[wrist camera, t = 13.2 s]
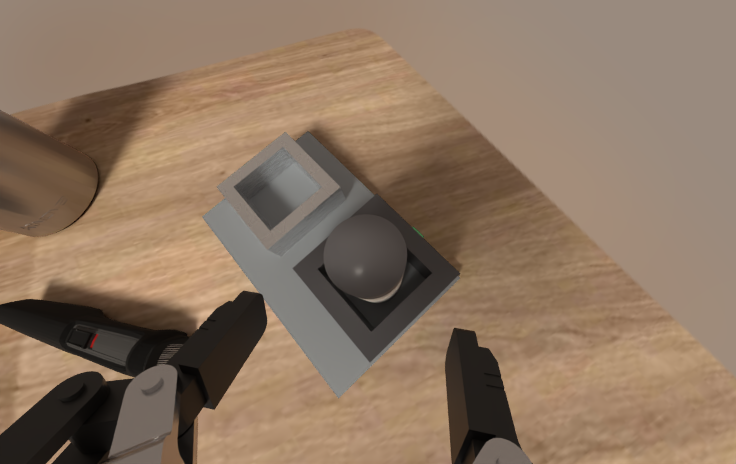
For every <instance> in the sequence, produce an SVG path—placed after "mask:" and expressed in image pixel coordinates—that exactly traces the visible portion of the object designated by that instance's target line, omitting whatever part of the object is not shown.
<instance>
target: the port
mask: <svg viewBox="0 0 736 464" xmlns="http://www.w3.org/2000/svg"><path fill="white" fill-rule="evenodd" d="M363 214H370V215H376V216H379V217H382V218H384V219H386V220H388V221H390V222H391V223H392V224H393V225H395V226H396V228H397V229H398V230H399V231H400V233H401V234H402V236H403V238H404V240H405V243H406V248H407V261H408V262H409V263H410V264H411V265H412V266H413V267H414V268H415V269H416V270H417V271H418V272H419V273H420V274H421V275H422V276H423V277H424V278H425V280H424V281H423V282H422V283H421V284H420V285H419V286H418V287H417V288H416V289H415V290H414V291H413V292H412V293H411V294H410V295H409V296H408V297H407V298H406V299H405V300H404V301H403V302H402V303H401V304H400V305H399V306H398V307H396V308H395V309H394V310H393V311H392V312H391V313H390V314H389V315H388V316H387V317H386V318H385V319H384V320H383V321H382V322H381V323H380V324H379V325H378V326H377V327H376V328H374V327H373V326H372V325H371V324H370V322H369V321H368V320H367V319H366V318H365V317H364V316H363V314H362V313H361V312H360V311H359V310H358V309H357V307H356V306H355V305H354V304H353V303H352V302H351V300H350V299H349V298H348V297H347V296H346V295H345V294H344V292H343V291H342V290H341V289H339V288H338V287H337V286H336V285H335V284H334V283H333V282H332V281H331V279H330V278H329V276H328V274H327V272H326V269H325V265H324V248H325V244H326V241H327V239H328V237H329V236H328V237H327V238H326V239H325V240H324V241H323V242H321V243H320V244H319V245H318V246H317V247H316V248H315V249H314V250H312V251H311V252H310V253H309V254H308V255H307V256H306V257H305V258H303V259H302V260H301V261H300V262H299V263H298V264H297V265H296V266H294V267H293V268H292V269H293V270H294V271H295V272H296V273H297V275H298V276H299V277H300V278H301V279H302V281H303V282H304V283H305V284H306V286H307V287H308V288H309V289H310V290H311V292H312V293H313V294H314V295H315V297H316V298H317V299H318V300H319V301H320V303H321V304H322V305H323V306H324V307H325V309H326V310H327V311H328V312H329V314H330V315H331V316H332V317H333V318H334V320H335V321H336V322H337V323H338V324H339V326H340V327H341V328H342V329H343V331H344V332H345V333H346V334H347V335H348V337H349V338H350V339H351V340H352V342H353V343H354V344H355V345H356V346H357V348H358V349H359V350H360V351H361V352H362V354H363V355H364V356H365V357H366V359H367V360H368V361H369V362H371V361H372V360H373V359H374V358H375V357H376V356H377V355H378V354H379V353H380V352H381V351H382V350H383V349H384V348H386V347H387V346H388V345H389V344H390V343H391V342H392V341H393V340H394V339H395V338H396V337H397V336H398V335H399V334H400V333H401V332H402V331H403V330H404V329H405V328H406V327H407V326H408V325H409V324H410V323H411V322H412V321H413V320H414V319H415V318H416V317H417V316H418V315H419V314H420V313H421V312H422V311H423V310H424V309H425V308H426V307H427V306H428V305H429V304H430V303H431V302H432V301H433V300H434V299H435V298H436V297H437V296H438V295H439V294H440V293H441V292H442V291H443V290H444V289H445V288H446V287H447V286H448V285H449V284H450V283H451V282H452V281H453V280H454V279H455V278H456V277H457V276H458V275H459V274H460V273H459V272H458V271H457V270H456V269H455V268H454V267H453V266H452V265H451V264H450V263H449V262H448V261H447V260H445V259H444V258H443V257H442V256H441V255H440V254H439V253H438V252H437V251H436V250H435V249H434V248H433V247H432V246H431V245H430V244H429V243H428V242H427V241H426V240H425V239H424V238H423V237H424V236H423V235H422V234H421V233H420V232H419V231H418V230H417V229H415V228H414V227H411V226H410V225H409V224H408V223H407V222H406V221H405V220H404V219H403V218H402V217H401V216H400V215H399V214H398V213H396V212H395V211H394V210H393V209H392V208H391V207H390V206H389V205H388V204H387V203H386V202H385V201H384V200H383V199H382V198H381V197H380V196H379V195H378V194H376V195H375V196H373V197H372V198H371V199H370V200H369V201H368V202H367V203H366V204H364V205H363V206H362V207H361V208H360V209H359V210H358V211H357V212H355V213H354V214H353V215H352V216H351V217H353V216H356V215H363Z"/></svg>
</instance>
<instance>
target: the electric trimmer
mask: <svg viewBox="0 0 736 464" xmlns="http://www.w3.org/2000/svg"><path fill="white" fill-rule="evenodd" d="M0 324H2V325H5V326H7V327H9V328H11V329H14V330H16V331H18V332H20V333H22V334H25V335H27V336H30V337H32V338H34V339H37V340H39V341H42V342H44V343H46V344H49V345H51V346H53V347H56V348H58V349H61V350H63V351H65V352H68V353H71V354H74V355H77V356H80V357H82V358H85V359H87V360H90V361H92V362H95V363H97V364H99V365H102V366H104V367H107V368H109V369H112V370H114V371H117V372H120V373H122V374H125V375H129V376H132V377H135V378H136V377H137V376H138V375H139V374H141V373H142V372H144V371H145V370H147V369H149V368H152V367H154V366H158V365H164V364H165V363H167V362H168V361H169V360H170V358H171V357H172V356H173V355H174V354H175V353H176V352H177V351H178V350H179V349H180V348H181V347H182V345H183V344H184V343H185V342H186V341H187V340H188V339H189V337H187V334H186V333H185V332H181V331H177V330H151V329H146V328H142V327H137V326H133V325H129V324H125V323H121V322H118V321H115V320H112V319H110V318H107V317H105V316H104V314H103V312H102V310H100V309H97V308H92V307H86V306H79V305H73V304H66V303H59V302H52V301H45V300H35V299H26V300H20V301H14V302H9V303H5V304H1V305H0ZM88 328H89V329H88Z"/></svg>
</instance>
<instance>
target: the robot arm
mask: <svg viewBox="0 0 736 464" xmlns="http://www.w3.org/2000/svg"><path fill="white" fill-rule="evenodd" d="M97 183H98V171H97V168H96V165H95V163H94V162H93V160H92V159H91V158H90V157H88V156H87V155H86V154H84V153H82V152H80V151H78V150H76V149H74V148H72V147H70V146H68V145H67V144H65V143H63V142H61V141H59V140H57V139H55V138H53V137H51V136H49V135H47V134H45V133H43V132H41V131H40V130H38V129H36V128H34V127H32V126H30V125H28V124H26V123H24V122H22V121H21V120H19V119H17V118H15V117H13V116H11V115H9V114H7V113H5V112H3V111H1V110H0V230H4V231H9V232H13V233H18V234H23V235H27V236H32V237H40V236H46V235H50V234H53V233H56V232H58V231H60V230H62V229H64V228H65V227H67V226H69V225H70V224H72V223H73V222H74V221H75V220H76V219H77V218H78V217H79V216H80V215H81V214H82V213H83V212H84V211H85V210H86V208H87V207H88V205H89V204H90V202H91V200H92V199H93V196H94V194H95V191H96V188H97ZM266 326H267V315H266V310H265V304H264V298H263V295H262V294H260V293H254V292H248V291H243V292H241V293H240V294H239V295H238V296H237V298H236V299H235V300H234V301H233V302H232V301H228V302H226V303H225V304H223V305H222V306H220V307H218V308H217V309H216V310H215V311H214V312H213V313H212V314H211V315H210V316H209V317H208V318H207V321H205V322H204V323H203V324H202V325H201V326H200V327H199V329H197V330H196V331H195V332H194V334H193V335H192V336H191V337H190V338H189V339H188V340H187V341H186V342H185V343H184V344H183V345H182V347H181V348H180V349H179V350H178V351H177V352H176V353H175V354H174V355H173V356H172V357H171V358H170V360H169V361H168V362H167V363H165V364H164V365H158V366H154V367H152V368H149V369H147V370H145V371H144V372H142V373H141V374H139V375H138V376H137V377H136V378H133V379H124V380H116V381H107V382H106V381H105V379H104V378H103V376H102V375H101V374H100V373H98V372H93V371H91V372H84V373H80V374H77V375H75V376H73V377H70V378H68V379H67V380H65V381H63V382H62V383H60V384H59V385H57V386H56V387H55V388H54V389H52V390H51V391H50V392H49V393H48V394H47V395H46V396H44V397H43V398H42V399H41V400H40V401H39V402H38V403H36V404H35V405H34V406H33V407H32V408H31V409H29V410H28V411H27V412H26V413H25V414H24V415H23V416H21V417H20V418H19V419H18V420H17V421H16V422H15V423H13V424H12V425H11V426H10V427H9V428H8V429H7V430H5V431H4V432H3V433H2V434H1V435H0V464H46V463H47V462H48V461H49V460H50V459H51V458H52V456H53V455H54V454H55V453H56V452H57V451H58V450H59V449H60V448H61V447H62V446H63V445H64V444H65V443H66V442H67V441H68V440H69V441H70V442H71V443H70V444H69V445H68V447H67V448H66V449H65V450H64V451H63V452H62V453H61V454H60V455H59V456H58V457H57V458H56V460H55V461H54V462H53V463H52V464H197V441H198V417H197V415H198V414H199V413H200V411H201V410H202V408H203V407H205V408H209V409H214V410H215V408H216V407H217V405H218V403H219V402H220V400H221V399H222V397H223V396H224V394H225V393H226V391H227V389H228V388H229V386H230V385H231V383H232V382H233V380H234V379H235V377H236V375H237V374H238V372H239V371H240V369H241V368H242V366H243V365H244V363H245V361H246V360H247V358H248V357H249V355H250V354H251V352H252V351H253V349H254V348H255V346H256V344H257V343H258V341H259V340H260V338H261V337H262V335H263V333H264V331H265V329H266ZM445 373H446V387H447V401H448V416H449V430H450V445H451V459H452V464H532V463H531V461H530V460H529V458H528V457H527V455H526V454H525V453H524V452H523V450H522V449H521V447H520V444H519V442H518V439H517V435H516V432H515V428H514V424H513V420H512V416H511V412H510V408H509V405H508V401H507V397H506V393H505V391H504V385H503V381H502V379H501V374H500V370H499V366H498V362H497V360H496V359H495V357H494V356H493V354H492V353H491V351H490V350H489V349H488V348H483V347H478V342H477V337H476V333H475V332H474V331H470V330H464V329H458V328H454V330H453V333H452V336H451V339H450V343H449V346H448V350H447V354H446V361H445Z"/></svg>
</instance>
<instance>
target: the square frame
mask: <svg viewBox="0 0 736 464" xmlns="http://www.w3.org/2000/svg"><path fill="white" fill-rule="evenodd" d="M293 163H294V164H295V165H296V166H297V167H298V168H299V169H300V170H301V171H302V172H303V173H304V174H305V175H306V176H307V177H308V178H309V179H310V180H311V181H312V182H313V183H314V185H315V186H316V187H317V188H318V189H319V190H318V191H317V192H315V193H314V194H313V195H312V196H311V197H310V198H308V199H307V200H306V201H305V202H304V203H302V204H301V205H300V206H299V207H298V208H297V209H295V210H294V211H293V212H292V213H291V214H290V215H288V216H287V217H286V218H285V219H284V220H283V221H281V222H280V223H279V224H278V225H277V226H275V227H274V228H273V227H272V226H271V225H270V223H269V222H268V221H267V220H266V219H265V217H264V216H263V215H262V214H261V213H260V212H259V210H258V209H257V208H256V207H255V206H254V204H253V203H252V202H251V201H250V199H251V198H252V197H253V196H255V195H256V194H257V193H258V192H259V191H261V190H262V189H263V188H264V187H265V186H267V185H268V184H269V183H270V182H272V181H273V180H274V179H275V178H276V177H278V176H279V175H280V174H281V173H283V172H284V171H285V170H286V169H287V168H289V167H290V166H291V165H292V164H293ZM217 188H218V189H219V191H220V192H221V193H222V194H223V196H224V197H225V198H226V199H227V201H228V202H229V203H230V204H231V206H232V207H233V208H234V209H235V211H236V212H237V213H238V214H239V215H240V217H241V218H242V219H243V220H244V222H245V223H246V224H247V225H248V227H249V228H250V229H251V230H252V232H253V233H254V234H255V235H256V237H257V238H258V239H259V240H260V241H261V243H262V244H263V245H264V246H265V248H266V249H267V250H269V251H270V252H272V253H274V254H276V255H278V256H280V257H281V256H283V255H284V254H285V253H286V252H287V251H288V250H289V249H291V248H292V247H293V246H294V245H295V244H296V243H298V242H299V241H300V240H301V239H302V238H303V237H304V236H306V235H307V234H308V233H309V232H310V231H311V230H312V229H314V228H315V227H316V226H317V225H318V224H319V223H320V222H322V221H323V220H324V219H325V218H326V217H327V216H328V215H330V214H331V213H332V212H333V211H334V210H335V209H336V208H338V207H339V206H340V205H341V204H342V203H343V202H345V201H346V199H345V197H344V194H343V192H342V190H341V187H340V186H339V185H338V184H337V183H336V182H335V181H334V180H333V179H332V178H331V177H330V176H329V175H328V174H327V173H326V172H325V171H324V170H323V169H322V168H321V167H320V166H319V165H318V164H317V163H316V162H315V161H314V160H313V159H312V158H311V157H310V156H309V155H308V154H307V153H306V152H305V151H304V150H303V149H302V148H301V147H300V146H299V145H298V144H297V143H296V142H295V141H294V140H293V139H292V138H291V137H290V136H289V135H288V134H287V133H286V132H284V133H283V134H282V135H281V136H279V137H278V138H277V139H276V140H274V141H273V142H272V143H271V144H269V145H268V146H267V147H266V148H264V149H263V150H262V151H261V152H259V153H258V154H257V155H256V156H254V157H253V158H252V159H251V160H249V161H248V162H247V163H246V164H244V165H243V166H242V167H241V168H239V169H238V170H237V171H236V172H234V173H233V174H232V175H231V176H229V177H228V178H227V179H226V180H224V181H223V182H222V183H221V184H219V185H218V186H217Z"/></svg>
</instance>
